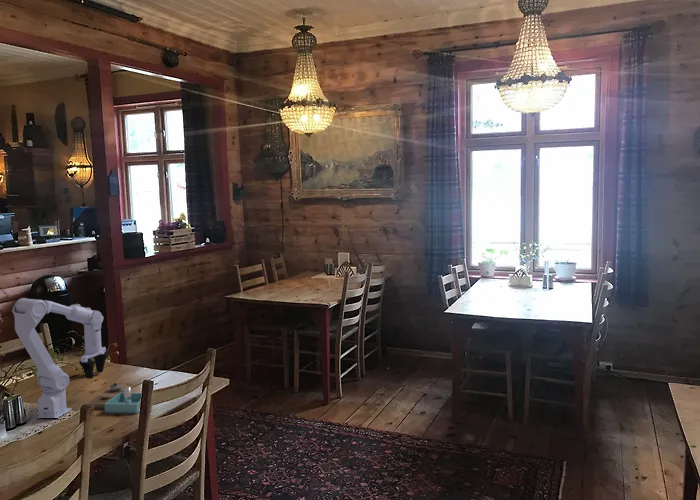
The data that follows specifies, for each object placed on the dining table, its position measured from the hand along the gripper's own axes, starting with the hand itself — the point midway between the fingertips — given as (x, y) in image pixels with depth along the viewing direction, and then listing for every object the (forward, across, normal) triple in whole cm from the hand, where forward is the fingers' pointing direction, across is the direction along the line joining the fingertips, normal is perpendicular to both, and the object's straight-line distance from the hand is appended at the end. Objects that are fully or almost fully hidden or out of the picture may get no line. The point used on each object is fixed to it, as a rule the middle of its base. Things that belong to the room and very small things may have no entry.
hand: (94, 375), depth 221 cm
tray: (+9, -8, -17) cm, 21 cm away
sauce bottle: (+10, +29, +17) cm, 35 cm away
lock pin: (+9, -8, -17) cm, 21 cm away
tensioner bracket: (+9, -1, -6) cm, 11 cm away
